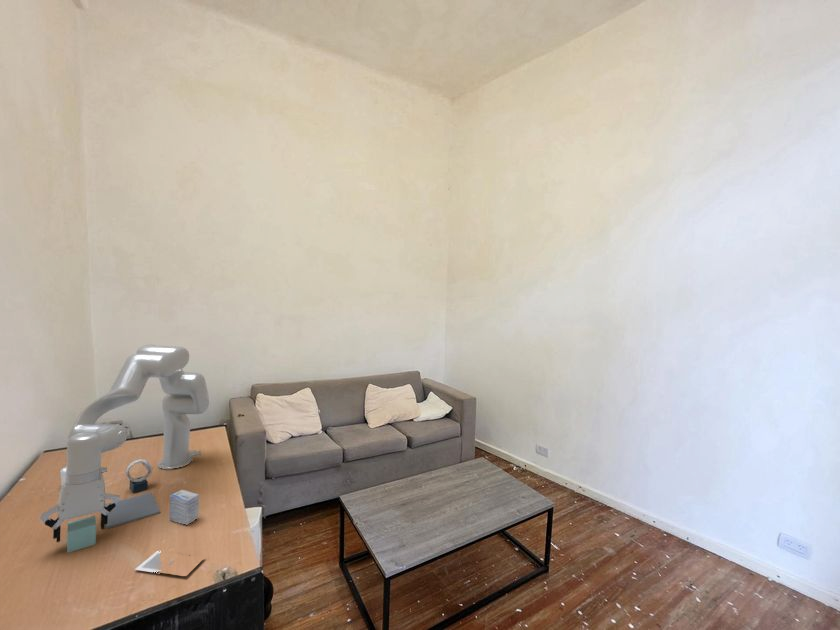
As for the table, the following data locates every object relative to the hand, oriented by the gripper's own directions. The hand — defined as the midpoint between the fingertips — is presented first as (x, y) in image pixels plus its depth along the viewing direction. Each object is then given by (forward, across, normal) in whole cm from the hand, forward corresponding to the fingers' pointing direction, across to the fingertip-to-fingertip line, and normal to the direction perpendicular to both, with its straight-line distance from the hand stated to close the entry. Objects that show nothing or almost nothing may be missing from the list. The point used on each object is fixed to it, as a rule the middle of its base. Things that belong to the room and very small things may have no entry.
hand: (81, 533), depth 109 cm
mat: (+3, -13, -12) cm, 18 cm away
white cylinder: (+3, +1, -43) cm, 43 cm away
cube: (+3, 0, 0) cm, 3 cm away
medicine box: (+3, -25, +5) cm, 26 cm away
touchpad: (+4, -18, +26) cm, 32 cm away
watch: (+3, -17, -27) cm, 32 cm away
